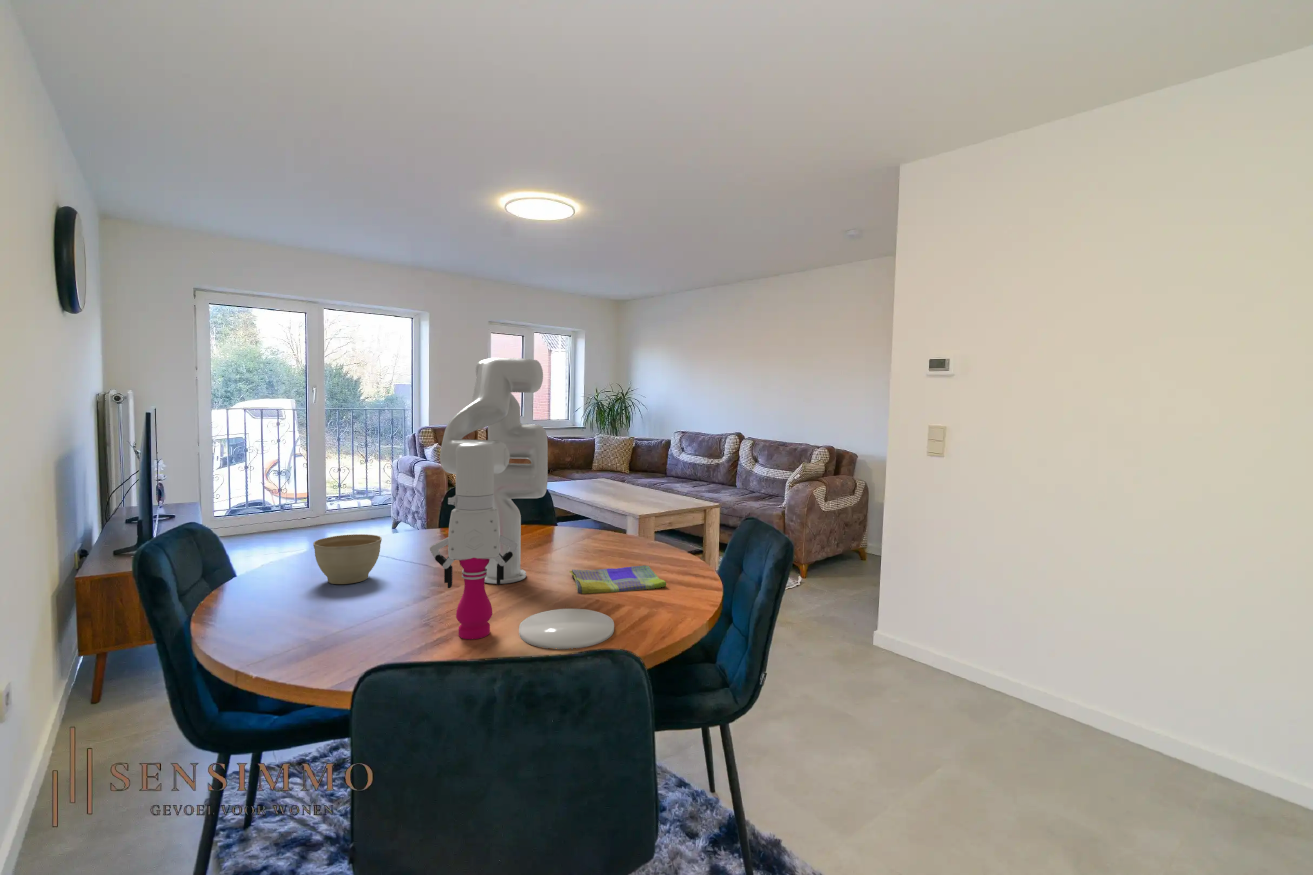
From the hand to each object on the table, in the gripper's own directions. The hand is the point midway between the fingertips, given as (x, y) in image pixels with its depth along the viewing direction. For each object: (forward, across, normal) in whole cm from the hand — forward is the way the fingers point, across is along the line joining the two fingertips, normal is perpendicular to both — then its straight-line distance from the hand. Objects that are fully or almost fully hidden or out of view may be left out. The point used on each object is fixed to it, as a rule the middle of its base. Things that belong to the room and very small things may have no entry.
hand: (474, 584), depth 122 cm
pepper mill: (+11, 0, 0) cm, 11 cm away
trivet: (+10, +19, -2) cm, 22 cm away
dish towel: (+11, +36, +30) cm, 48 cm away
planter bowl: (+11, -34, +46) cm, 58 cm away
